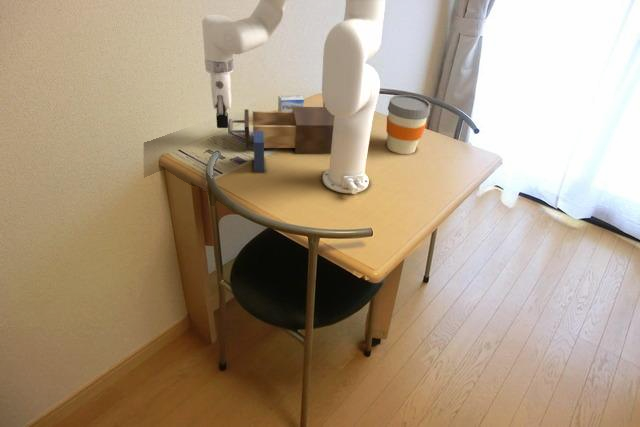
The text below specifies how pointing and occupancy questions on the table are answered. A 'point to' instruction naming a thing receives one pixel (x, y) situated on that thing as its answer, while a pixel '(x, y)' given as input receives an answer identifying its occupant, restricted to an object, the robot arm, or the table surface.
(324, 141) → the cabinet
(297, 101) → the medicine box
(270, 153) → the table surface
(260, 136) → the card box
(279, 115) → the drawer
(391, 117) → the reusable coffee cup
